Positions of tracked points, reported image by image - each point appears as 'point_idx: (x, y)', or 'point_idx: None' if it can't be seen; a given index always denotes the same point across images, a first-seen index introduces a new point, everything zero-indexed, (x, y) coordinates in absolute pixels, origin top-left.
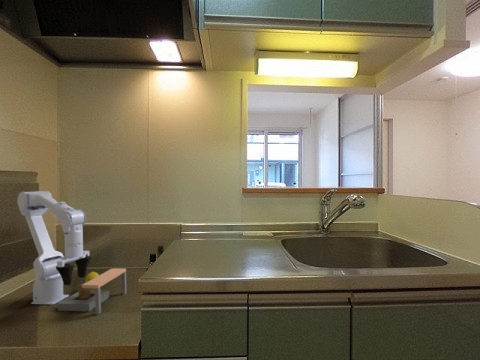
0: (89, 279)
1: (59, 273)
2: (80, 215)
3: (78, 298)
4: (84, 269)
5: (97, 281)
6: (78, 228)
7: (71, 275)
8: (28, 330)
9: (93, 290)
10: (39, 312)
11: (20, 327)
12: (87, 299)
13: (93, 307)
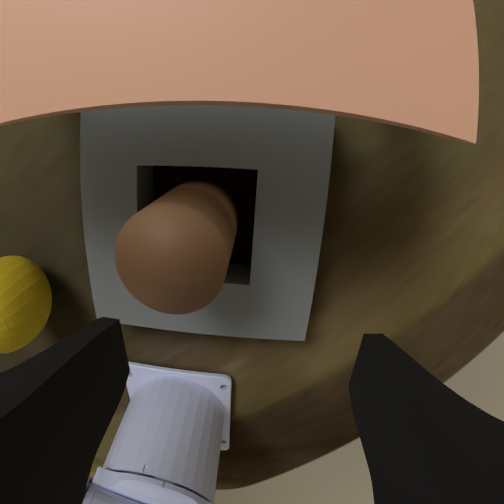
0: (20, 317)
1: (130, 496)
2: None
3: None
4: (64, 378)
5: None
6: None
7: (420, 398)
8: (472, 305)
9: (84, 231)
10: (312, 382)
11: (439, 353)
12: (216, 187)
13: None
